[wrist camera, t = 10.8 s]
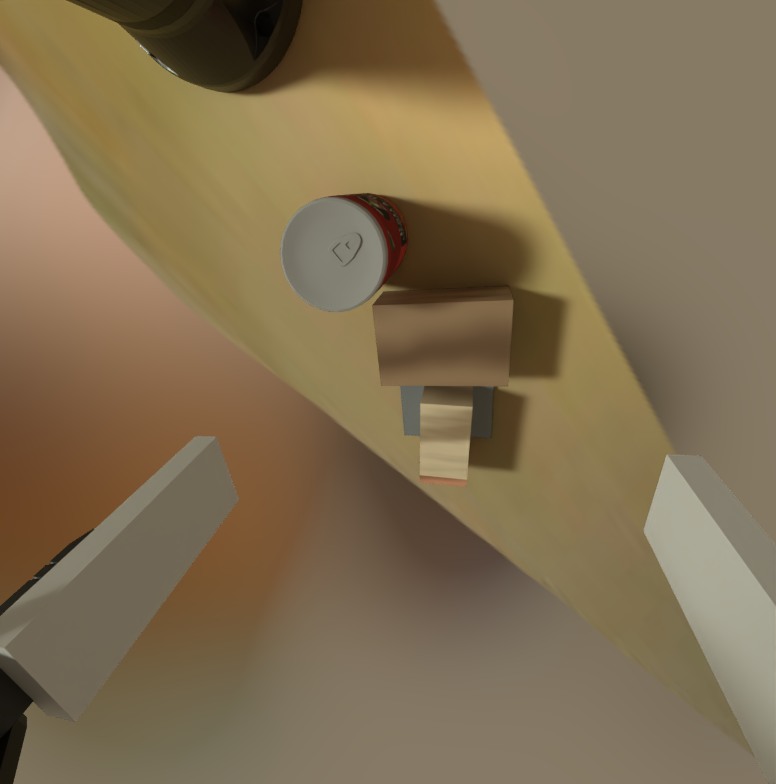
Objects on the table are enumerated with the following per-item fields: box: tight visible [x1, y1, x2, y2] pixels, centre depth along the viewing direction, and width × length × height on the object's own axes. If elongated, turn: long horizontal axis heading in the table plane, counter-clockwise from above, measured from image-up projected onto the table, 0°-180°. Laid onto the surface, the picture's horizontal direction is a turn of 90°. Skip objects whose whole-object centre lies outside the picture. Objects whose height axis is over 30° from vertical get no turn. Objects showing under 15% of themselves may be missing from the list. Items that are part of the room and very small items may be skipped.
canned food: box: [280, 193, 408, 312], centre depth 32 cm, size 8×8×11 cm
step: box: [372, 286, 514, 386], centre depth 37 cm, size 8×12×5 cm, turn 95°
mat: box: [401, 386, 494, 438], centre depth 43 cm, size 8×10×1 cm
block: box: [420, 386, 473, 487], centre depth 41 cm, size 5×5×10 cm
